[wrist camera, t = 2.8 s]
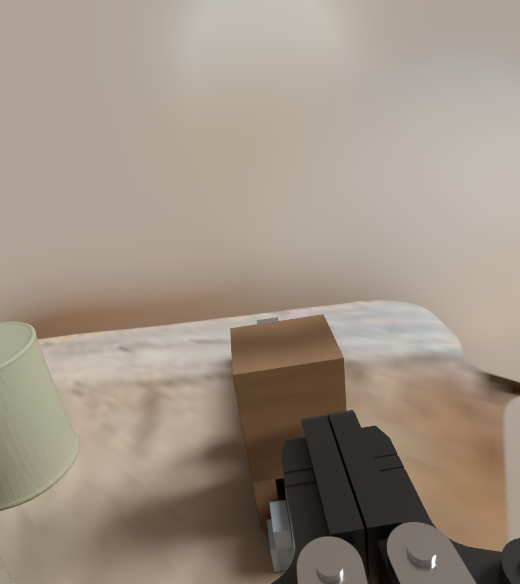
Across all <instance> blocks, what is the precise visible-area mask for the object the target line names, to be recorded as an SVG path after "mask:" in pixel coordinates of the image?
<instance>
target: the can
mask: <svg viewBox="0 0 520 584" xmlns="http://www.w3.org/2000/svg"><path fill="white" fill-rule="evenodd" d="M78 451H79V437H78V435H77V433H76V432H75V430H74V429H73V427H72V425H71V423H70V420H69V418H68V416H67V413H66V411H65V409H64V406H63V404H62V401H61V399H60V396H59V394H58V391H57V389H56V386H55V384H54V381H53V379H52V376H51V374H50V371H49V369H48V366H47V364H46V361H45V358H44V356H43V353H42V351H41V348H40V346H39V343H38V340H37V337H36V332H35V330H34V328H33V327H32V326H30V325H28V324H26V323H22V322H1V323H0V510H1V509H6V508H10V507H13V506H16V505H19V504H21V503H24V502H26V501H28V500H30V499H32V498H34V497H36V496H38V495H39V494H41V493H42V492H44V491H45V490H47V489H48V488H50V487H51V486H52V485H53V484H55V483H56V482H57V481H58V480H59V479H60V478H61V477H62V476H63V475H64V474H65V473H66V472H67V471H68V470H69V468H70V467H71V465H72V464H73V462H74V460H75V459H76V457H77V454H78Z"/></svg>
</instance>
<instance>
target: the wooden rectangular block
mask: <svg viewBox="0 0 520 584" xmlns="http://www.w3.org/2000/svg"><path fill="white" fill-rule="evenodd" d="M230 331H231V352H232V373H233V380H234V385H235V391H236V396H237V402H238V407H239V412H240V418H241V423H242V429H243V434H244V440H245V445H246V450H247V456H248V461H249V467H250V472H251V477H252V483H253V488H254V494H255V499H256V505H257V510H258V515H259V521H260V526H261V530H262V529H268V526H267V520H269V519H272V518H271V510H270V502H276V501H282V500H286V496H285V490H284V484H283V478H284V474H283V468H282V461H281V453H282V450H283V447H284V444H285V441H286V440H292V439H298V438H302V430H301V420H300V419H301V418H307V417H313V416H319V415H326V416H327V414H330V413H336V412H343V411H346V394H345V373H344V357H343V355H342V353H341V351H340V349H339V347H338V345H337V342H336V340H335V338H334V336H333V334H332V332H331V330H330V327H329V325H328V323H327V321H326V319H325V317H324V315H316V316H309V317H303V318H296V319H290V320H283V321H276V322H270V323H263V324H257V325H250V326H243V327H237V328H230ZM286 505H287V502H286ZM287 511H288V508H287ZM288 516H289V514H288Z"/></svg>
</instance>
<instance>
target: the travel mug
mask: <svg viewBox="0 0 520 584" xmlns="http://www.w3.org/2000/svg"><path fill="white" fill-rule="evenodd" d="M0 584H15V582H14V580H13V579H12V577H11V575H10V574H9V572H8V570H7V569H6V567H5V565H4V564H3V562H2V560H1V559H0Z"/></svg>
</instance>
